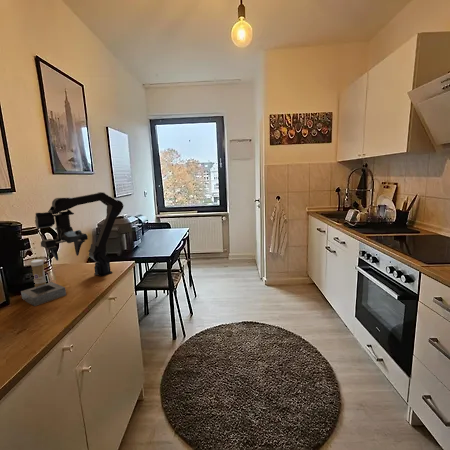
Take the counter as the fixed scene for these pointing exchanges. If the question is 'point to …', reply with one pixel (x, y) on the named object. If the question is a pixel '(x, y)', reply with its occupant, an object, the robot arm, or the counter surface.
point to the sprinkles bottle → (38, 272)
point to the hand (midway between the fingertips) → (67, 257)
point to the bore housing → (43, 293)
